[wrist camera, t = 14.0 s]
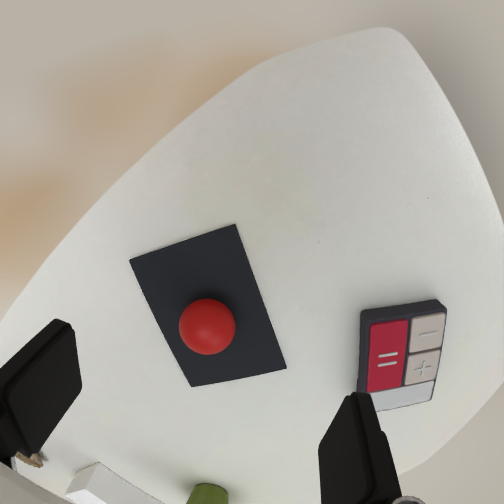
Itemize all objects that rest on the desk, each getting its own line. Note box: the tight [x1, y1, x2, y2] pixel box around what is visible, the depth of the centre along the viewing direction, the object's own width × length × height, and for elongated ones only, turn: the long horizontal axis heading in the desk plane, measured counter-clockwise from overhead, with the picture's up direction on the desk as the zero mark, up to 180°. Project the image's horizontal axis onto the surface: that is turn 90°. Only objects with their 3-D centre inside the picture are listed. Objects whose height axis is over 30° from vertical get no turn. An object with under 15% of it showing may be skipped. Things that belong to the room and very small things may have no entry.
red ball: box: [179, 299, 235, 355], centre depth 36 cm, size 6×6×6 cm
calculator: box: [357, 300, 447, 412], centre depth 37 cm, size 11×4×15 cm
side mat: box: [129, 224, 287, 387], centre depth 39 cm, size 20×14×1 cm
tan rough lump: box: [15, 452, 43, 468], centre depth 55 cm, size 11×7×10 cm
